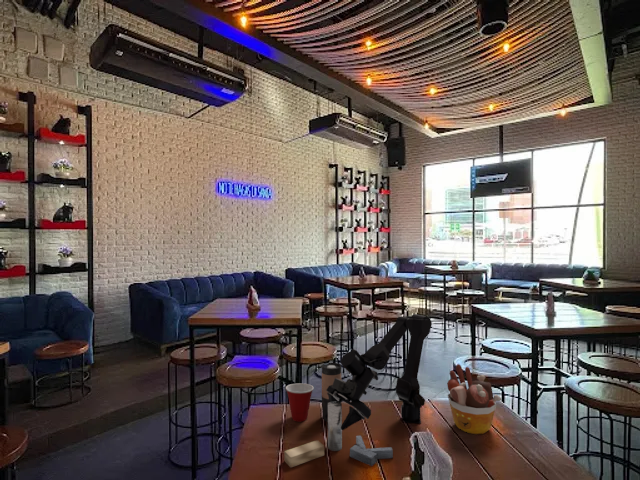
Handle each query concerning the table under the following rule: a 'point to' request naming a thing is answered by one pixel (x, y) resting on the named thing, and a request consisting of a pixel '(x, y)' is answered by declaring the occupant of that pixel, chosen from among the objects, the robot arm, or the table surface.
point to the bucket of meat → (471, 402)
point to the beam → (304, 453)
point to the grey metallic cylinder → (334, 426)
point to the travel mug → (328, 383)
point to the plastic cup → (299, 400)
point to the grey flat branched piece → (369, 452)
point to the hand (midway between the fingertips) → (333, 423)
